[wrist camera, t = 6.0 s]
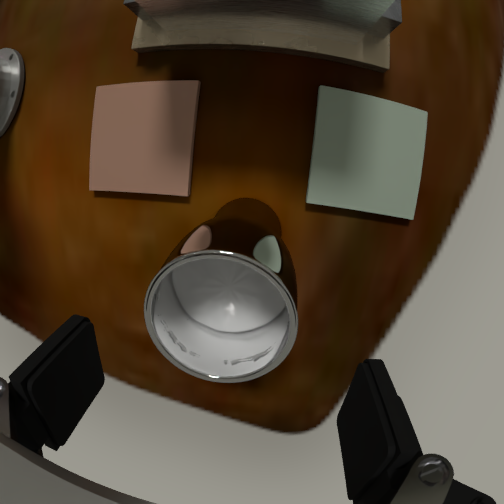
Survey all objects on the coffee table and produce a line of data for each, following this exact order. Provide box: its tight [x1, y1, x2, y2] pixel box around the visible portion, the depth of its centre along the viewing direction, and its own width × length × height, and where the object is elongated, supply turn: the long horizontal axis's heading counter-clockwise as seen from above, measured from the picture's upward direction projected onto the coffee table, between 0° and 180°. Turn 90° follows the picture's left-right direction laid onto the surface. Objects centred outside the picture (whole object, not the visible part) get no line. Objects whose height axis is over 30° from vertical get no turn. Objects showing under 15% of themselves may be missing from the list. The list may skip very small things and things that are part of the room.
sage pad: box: [306, 85, 428, 220], centre depth 23 cm, size 10×10×1 cm
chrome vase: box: [144, 198, 298, 383], centre depth 19 cm, size 7×7×15 cm
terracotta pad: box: [89, 80, 201, 196], centre depth 24 cm, size 10×10×1 cm
